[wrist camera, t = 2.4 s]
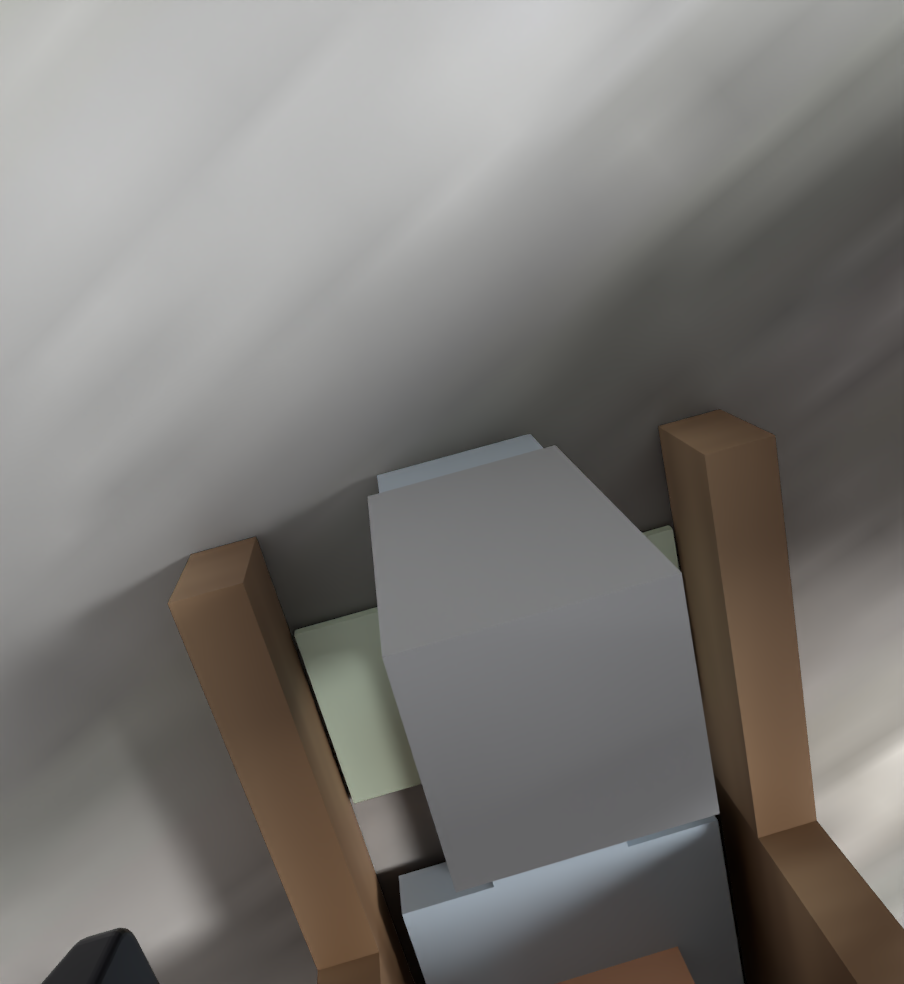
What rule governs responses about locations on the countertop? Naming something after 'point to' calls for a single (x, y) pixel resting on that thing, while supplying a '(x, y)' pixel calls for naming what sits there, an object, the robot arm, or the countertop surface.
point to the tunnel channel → (391, 767)
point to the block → (642, 971)
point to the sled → (546, 725)
